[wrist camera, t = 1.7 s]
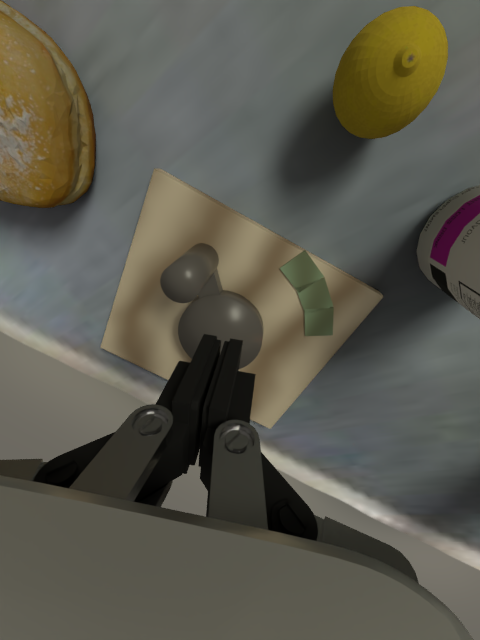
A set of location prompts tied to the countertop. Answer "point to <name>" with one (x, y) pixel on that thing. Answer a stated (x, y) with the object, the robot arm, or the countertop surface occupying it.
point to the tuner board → (242, 278)
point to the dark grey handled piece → (210, 304)
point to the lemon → (390, 72)
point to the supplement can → (454, 249)
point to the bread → (41, 119)
